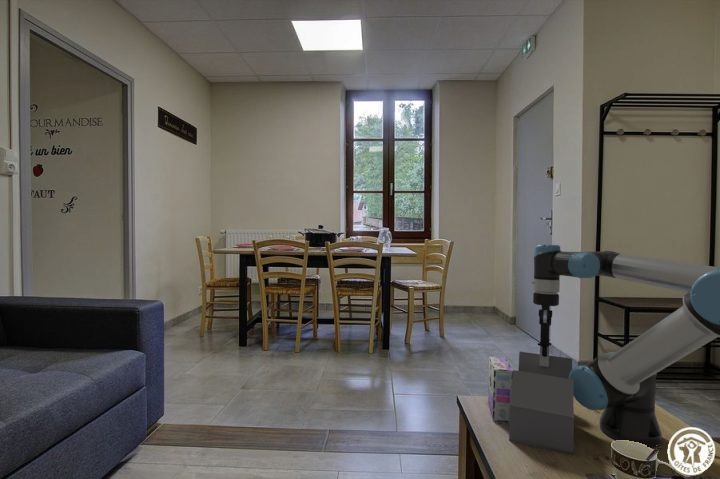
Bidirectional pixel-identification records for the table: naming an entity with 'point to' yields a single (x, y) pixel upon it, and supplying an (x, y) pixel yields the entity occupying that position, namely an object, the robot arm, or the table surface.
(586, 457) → the table surface
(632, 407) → the robot arm
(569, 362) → the far flap
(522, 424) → the carton
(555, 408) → the near flap
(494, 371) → the candy box
